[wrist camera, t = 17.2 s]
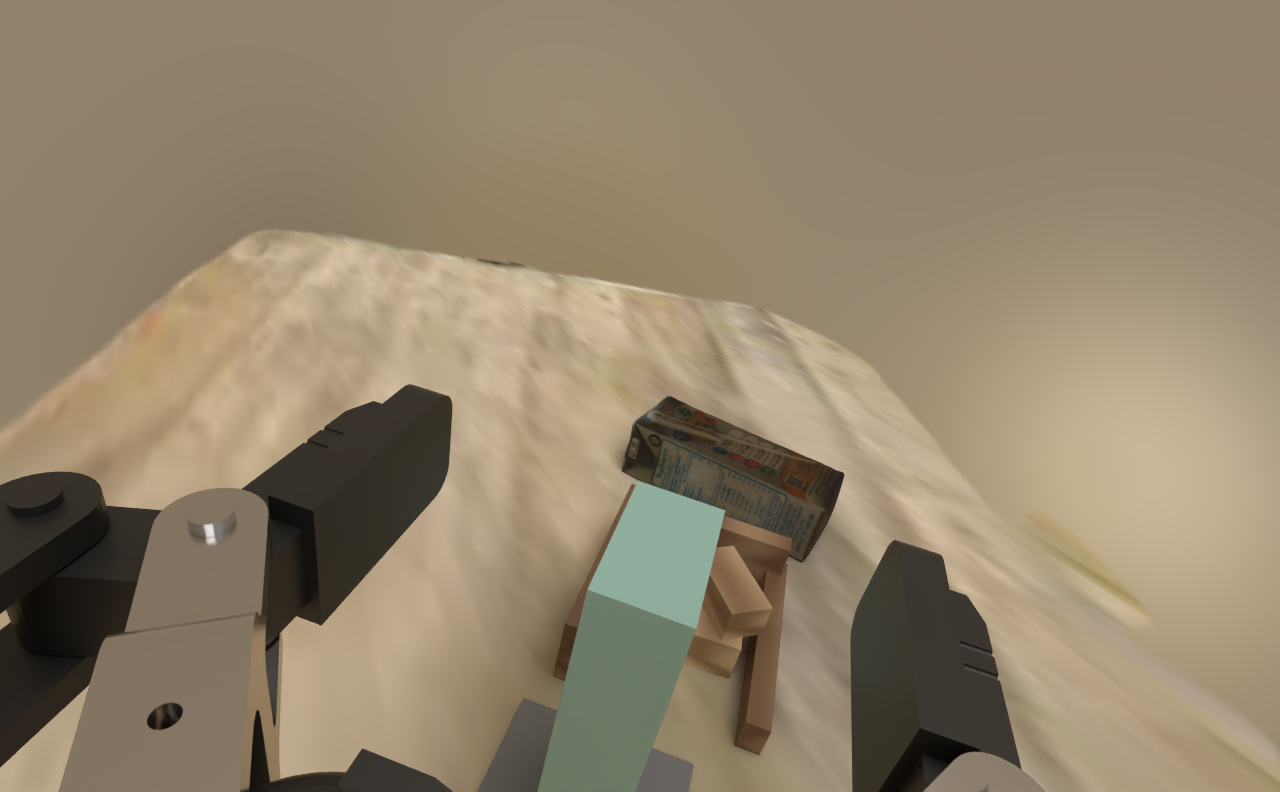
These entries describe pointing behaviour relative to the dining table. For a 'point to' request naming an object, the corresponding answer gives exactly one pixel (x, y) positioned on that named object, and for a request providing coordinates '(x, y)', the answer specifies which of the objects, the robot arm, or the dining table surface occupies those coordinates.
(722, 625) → the offcut top
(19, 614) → the robot arm
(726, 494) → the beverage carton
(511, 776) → the pad
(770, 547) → the frame
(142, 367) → the dining table surface
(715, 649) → the offcut low
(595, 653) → the tall teal pillar
